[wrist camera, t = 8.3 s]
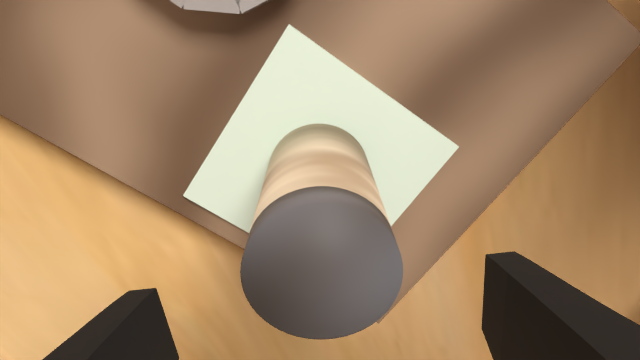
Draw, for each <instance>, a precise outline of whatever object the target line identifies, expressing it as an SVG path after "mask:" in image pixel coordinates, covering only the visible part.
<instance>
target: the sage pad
mask: <svg viewBox="0 0 640 360" xmlns="http://www.w3.org/2000/svg"><path fill="white" fill-rule="evenodd" d="M308 124H329V125H333V126H336V127H339V128H341V129H343V130H345V131H347V132H348V133H350V134H351V135H352V136H353V137H354V138H355V139H356V140H357V141H358V142H359V143H360V145H361V146H362V148H363V150H364V152H365V154H366V157H367V160H368V163H369V166H370V168H371V171H372V174H373V177H374V180H375V183H376V185H377V188H378V191H379V194H380V197H381V200H382V202H383V205H384V208H385V211H386V214H387V217H388V219H389V222H390V225H391V226H392V225H393V224H394V222H395V221H396V220H397V219H398V218H399V217H400V215H401V214H402V213H403V212H404V211H405V210H406V208H407V207H408V206H409V205H410V204H411V203H412V201H413V200H414V199H415V198H416V197H417V196H418V194H419V193H420V192H421V191H422V190H423V189H424V187H425V186H426V185H427V184H428V183H429V182H430V180H431V179H432V178H433V177H434V176H435V174H436V173H437V172H438V171H439V170H440V169H441V167H442V166H443V165H444V164H445V163H446V162H447V160H448V159H449V158H450V157H451V156H452V155H453V153H454V152H455V151H456V150H457V149H458V148H459V146H458V145H456V144H455V143H454V142H452V141H451V140H450V139H448V138H447V137H445V136H444V135H443V134H441V133H440V132H438V131H437V130H436V129H434V128H433V127H431V126H430V125H429V124H427V123H426V122H425V121H423V120H422V119H420V118H419V117H418V116H416V115H415V114H413V113H412V112H411V111H409V110H408V109H406V108H405V107H404V106H402V105H401V104H400V103H398V102H397V101H395V100H394V99H393V98H391V97H390V96H388V95H387V94H386V93H384V92H383V91H381V90H380V89H379V88H377V87H376V86H375V85H373V84H372V83H370V82H369V81H368V80H366V79H365V78H363V77H362V76H361V75H359V74H358V73H356V72H355V71H354V70H352V69H351V68H350V67H348V66H347V65H345V64H344V63H343V62H341V61H340V60H338V59H337V58H336V57H334V56H333V55H331V54H330V53H329V52H327V51H326V50H325V49H323V48H322V47H320V46H319V45H318V44H316V43H315V42H313V41H312V40H311V39H309V38H308V37H306V36H305V35H304V34H302V33H301V32H300V31H298V30H297V29H295V28H294V27H293V26H291V25H290V24H289V25H288V26H287V28H286V30H285V31H284V33H283V34H282V36H281V38H280V39H279V41H278V43H277V44H276V46H275V47H274V49H273V51H272V52H271V54H270V55H269V57H268V59H267V60H266V62H265V64H264V65H263V67H262V68H261V70H260V72H259V73H258V75H257V77H256V78H255V80H254V81H253V83H252V85H251V86H250V88H249V89H248V91H247V93H246V94H245V96H244V98H243V99H242V101H241V102H240V104H239V106H238V107H237V109H236V110H235V112H234V114H233V115H232V117H231V119H230V120H229V122H228V123H227V125H226V127H225V128H224V130H223V132H222V133H221V135H220V136H219V138H218V140H217V141H216V143H215V144H214V146H213V148H212V149H211V151H210V153H209V154H208V156H207V157H206V159H205V161H204V162H203V164H202V166H201V167H200V169H199V170H198V172H197V174H196V175H195V177H194V178H193V180H192V182H191V183H190V185H189V187H188V188H187V190H186V191H185V193H184V195H183V196H184V197H186V198H188V199H189V200H191V201H193V202H195V203H196V204H198V205H200V206H202V207H203V208H205V209H207V210H209V211H211V212H212V213H214V214H216V215H218V216H219V217H221V218H223V219H225V220H227V221H228V222H230V223H232V224H234V225H235V226H237V227H239V228H241V229H242V230H244V231H246V232H248V233H250V229H251V225H252V222H253V218H254V215H255V211H256V208H257V204H258V201H259V197H260V194H261V190H262V187H263V183H264V180H265V176H266V172H267V169H268V165H269V162H270V158H271V155H272V153H273V151H274V149H275V147H276V145H277V144H278V143H279V141H280V140H281V139H282V138H283V137H284V136H285V135H287V134H288V133H289V132H291V131H293V130H294V129H296V128H299V127H301V126H305V125H308Z"/></svg>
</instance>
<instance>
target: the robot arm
mask: <svg viewBox="0 0 640 360" xmlns="http://www.w3.org/2000/svg"><path fill="white" fill-rule="evenodd" d="M482 331H483V333H484V336H485V339H486V341H487V344H488V347H489V349H490V352H491V354H492V357H493V359H494V360H640V325H638V324H636V323H635V322H633V321H631V320H629V319H627V318H626V317H624V316H622V315H620V314H619V313H617V312H615V311H613V310H612V309H610V308H608V307H607V306H605V305H603V304H601V303H600V302H598V301H596V300H595V299H593V298H591V297H590V296H588V295H586V294H585V293H583V292H581V291H580V290H578V289H576V288H575V287H573V286H571V285H570V284H568V283H567V282H565V281H563V280H562V279H560V278H558V277H557V276H555V275H553V274H552V273H550V272H549V271H547V270H545V269H544V268H542V267H540V266H539V265H537V264H535V263H534V262H532V261H530V260H529V259H527V258H525V257H524V256H522V255H520V254H518V253H516V252H505V253H495V254H486V258H485V277H484V296H483V315H482ZM43 360H179V356H178V353H177V350H176V347H175V344H174V341H173V338H172V335H171V332H170V329H169V326H168V323H167V320H166V317H165V313H164V310H163V307H162V304H161V301H160V298H159V295H158V292H157V289H156V288H152V289H142V290H132V291H128V292H127V293H125V294H124V295H123V296H121V297H120V298H118V299H117V300H116V301H114V302H113V303H112V304H111V305H109V306H108V307H107V308H105V309H104V310H103V311H102V312H100V313H99V314H98V315H97V316H96V317H94V318H93V319H92V320H91V321H89V322H88V323H87V324H86V325H84V326H83V327H82V328H81V329H80V330H78V331H77V332H76V333H75V334H73V335H72V336H71V337H70V338H68V339H67V340H66V341H65V342H64V343H62V344H61V345H60V346H59V347H57V348H56V349H55V350H54V351H52V352H51V353H50V354H49V355H47V356H46V357H45V358H44V359H43Z"/></svg>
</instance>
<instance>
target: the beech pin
mask: <svg viewBox="0 0 640 360" xmlns="http://www.w3.org/2000/svg"><path fill="white" fill-rule="evenodd" d="M240 273H241V283H242V287H243V291H244V293H245V296H246V298H247V300H248V301H249V303H250V305H251V306H252V308H253V309H254V310H255V311H256V313H257V314H258V315H259V316H260V317H261V318H262V319H264V320H265V321H266V322H268V323H269V324H270V325H272V326H274V327H275V328H277V329H279V330H281V331H283V332H285V333H288V334H291V335H294V336H297V337H302V338H308V339H333V338H339V337H344V336H348V335H351V334H354V333H356V332H359V331H361V330H363V329H365V328H367V327H369V326H370V325H372V324H373V323H375V322H376V321H377V320H379V319H380V318H381V317H382V316H383V315H384V314H385V313H386V312H387V311H388V310H389V308H390V307H391V306H392V304H393V303H394V301H395V299H396V298H397V295H398V293H399V291H400V288H401V284H402V279H403V262H402V257H401V253H400V251H399V248H398V245H397V242H396V239H395V236H394V234H393V231H392V228H391V225H390V222H389V219H388V217H387V214H386V211H385V208H384V205H383V202H382V200H381V197H380V194H379V191H378V188H377V185H376V183H375V180H374V177H373V174H372V171H371V168H370V166H369V163H368V160H367V157H366V154H365V152H364V150H363V148H362V146H361V145H360V143H359V142H358V141H357V140H356V139H355V138H354V137H353V136H352V135H351V134H350V133H348V132H347V131H345V130H343V129H341V128H339V127H336V126H333V125H329V124H308V125H305V126H301V127H299V128H296V129H294V130H293V131H291V132H289V133H288V134H287V135H285V136H284V137H283V138H282V139H281V140H280V141H279V143H278V144H277V145H276V147H275V149H274V151H273V153H272V155H271V158H270V162H269V165H268V169H267V172H266V176H265V180H264V183H263V187H262V190H261V194H260V197H259V201H258V204H257V208H256V211H255V215H254V218H253V222H252V225H251V229H250V233H249V236H248V240H247V243H246V247H245V250H244V254H243V258H242V262H241V271H240Z"/></svg>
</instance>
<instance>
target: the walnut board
mask: <svg viewBox="0 0 640 360" xmlns="http://www.w3.org/2000/svg"><path fill="white" fill-rule="evenodd" d="M289 24H290V25H291V26H293V27H294V28H295V29H297V30H298V31H300V32H301V33H302V34H304V35H305V36H306V37H308V38H309V39H311V40H312V41H313V42H315V43H316V44H318V45H319V46H320V47H322V48H323V49H325V50H326V51H327V52H329V53H330V54H331V55H333V56H334V57H336V58H337V59H338V60H340V61H341V62H343V63H344V64H345V65H347V66H348V67H350V68H351V69H352V70H354V71H355V72H356V73H358V74H359V75H361V76H362V77H363V78H365V79H366V80H368V81H369V82H370V83H372V84H373V85H375V86H376V87H377V88H379V89H380V90H381V91H383V92H384V93H386V94H387V95H388V96H390V97H391V98H393V99H394V100H395V101H397V102H398V103H400V104H401V105H402V106H404V107H405V108H406V109H408V110H409V111H411V112H412V113H413V114H415V115H416V116H418V117H419V118H420V119H422V120H423V121H425V122H426V123H427V124H429V125H430V126H431V127H433V128H434V129H436V130H437V131H438V132H440V133H441V134H443V135H444V136H445V137H447V138H448V139H450V140H451V141H452V142H454V143H455V144H456V145H458V146H459V148H458V149H457V150H456V151H455V152H454V153H453V155H452V156H451V157H450V158H449V159H448V160H447V162H446V163H445V164H444V165H443V166H442V167H441V169H440V170H439V171H438V172H437V173H436V174H435V176H434V177H433V178H432V179H431V180H430V182H429V183H428V184H427V185H426V186H425V187H424V189H423V190H422V191H421V192H420V193H419V194H418V196H417V197H416V198H415V199H414V200H413V201H412V203H411V204H410V205H409V206H408V207H407V208H406V210H405V211H404V212H403V213H402V214H401V215H400V217H399V218H398V219H397V220H396V221H395V222H394V224H393V225H392V226H391V228H392V231H393V234H394V236H395V239H396V242H397V245H398V248H399V251H400V253H401V257H402V262H403V279H402V284H401V288H400V291H399V293H398V295H397V298H396V299H395V301H394V303H393V304H392V306H391V307H390V308H389V310H388V311H387V312H386V313H385V314H384V315H383V316H382V317H381V318H380V319H379V320H377V321H376V322H377V323H379V322H380V321H381V320H382V319H383V318H384V317H385V316H386V315H387V314H388V313H389V312H390V311H391V310H392V309H393V307H394V306H395V305H396V304H397V303H398V302H399V301H400V300H401V299H402V298H403V297H404V296H405V295H406V294H407V293H408V291H409V290H410V289H411V288H412V287H413V286H414V285H415V284H416V283H417V282H418V281H419V280H420V279H421V278H422V277H423V275H424V274H425V273H426V272H427V271H428V270H429V269H430V268H431V267H432V266H433V265H434V264H435V263H436V262H437V261H438V259H439V258H440V257H441V256H442V255H443V254H444V253H445V252H446V251H447V250H448V249H449V248H450V247H451V246H452V245H453V243H454V242H455V241H456V240H457V239H458V238H459V237H460V236H461V235H462V234H463V233H464V232H465V231H466V230H467V229H468V227H469V226H470V225H471V224H472V223H473V222H474V221H475V220H476V219H477V218H478V217H479V216H480V215H481V214H482V213H483V211H484V210H485V209H486V208H487V207H488V206H489V205H490V204H491V203H492V202H493V201H494V200H495V199H496V198H497V197H498V195H499V194H500V193H501V192H502V191H503V190H504V189H505V188H506V187H507V186H508V185H509V184H510V183H511V182H512V181H513V179H514V178H515V177H516V176H517V175H518V174H519V173H520V172H521V171H522V170H523V169H524V168H525V167H526V166H527V165H528V163H529V162H530V161H531V160H532V159H533V158H534V157H535V156H536V155H537V154H538V153H539V152H540V151H541V150H542V149H543V147H544V146H545V145H546V144H547V143H548V142H549V141H550V140H551V139H552V138H553V137H554V136H555V135H556V134H557V133H558V131H559V130H560V129H561V128H562V127H563V126H564V125H565V124H566V123H567V122H568V121H569V120H570V119H571V118H572V117H573V115H574V114H575V113H576V112H577V111H578V110H579V109H580V108H581V107H582V106H583V105H584V104H585V103H586V102H587V101H588V99H589V98H590V97H591V96H592V95H593V94H594V93H595V92H596V91H597V90H598V89H599V88H600V87H601V86H602V85H603V83H604V82H605V81H606V80H607V79H608V78H609V77H610V76H611V75H612V74H613V73H614V72H615V71H616V70H617V69H618V67H619V66H620V65H621V64H622V63H623V62H624V61H625V60H626V59H627V58H628V57H629V56H630V55H631V54H632V53H633V51H634V50H635V49H636V48H637V47H638V46H639V45H640V31H639V30H638V29H637V28H635V27H634V26H633V25H632V24H631V23H630V22H629V21H628V20H627V19H626V18H625V17H624V16H623V15H622V14H620V13H619V12H618V11H617V10H616V9H615V8H614V7H613V6H612V5H611V4H610V3H609V2H608V1H607V0H270V1H269V2H267V3H265V4H263V5H261V6H259V7H257V8H255V9H253V10H252V11H250V12H248V13H243V14H234V13H222V12H211V11H199V10H187V9H184V8H180V7H179V6H177V5H176V4H174V3H173V2H171V1H170V0H0V115H2V116H4V117H6V118H7V119H9V120H11V121H13V122H15V123H16V124H18V125H20V126H22V127H24V128H25V129H27V130H29V131H31V132H33V133H35V134H36V135H38V136H40V137H42V138H44V139H45V140H47V141H49V142H51V143H53V144H54V145H56V146H58V147H60V148H62V149H64V150H65V151H67V152H69V153H71V154H73V155H74V156H76V157H78V158H80V159H82V160H83V161H85V162H87V163H89V164H91V165H92V166H94V167H96V168H98V169H100V170H102V171H103V172H105V173H107V174H109V175H111V176H112V177H114V178H116V179H118V180H120V181H121V182H123V183H125V184H127V185H129V186H131V187H132V188H134V189H136V190H138V191H140V192H141V193H143V194H145V195H147V196H149V197H150V198H152V199H154V200H156V201H158V202H160V203H161V204H163V205H165V206H167V207H169V208H170V209H172V210H174V211H176V212H178V213H179V214H181V215H183V216H185V217H187V218H189V219H190V220H192V221H194V222H196V223H198V224H199V225H201V226H203V227H205V228H207V229H208V230H210V231H212V232H214V233H216V234H218V235H219V236H221V237H223V238H225V239H227V240H228V241H230V242H232V243H234V244H236V245H237V246H239V247H241V248H243V249H245V247H246V243H247V240H248V236H249V233H248V232H246V231H244V230H242V229H241V228H239V227H237V226H235V225H234V224H232V223H230V222H228V221H227V220H225V219H223V218H221V217H219V216H218V215H216V214H214V213H212V212H211V211H209V210H207V209H205V208H203V207H202V206H200V205H198V204H196V203H195V202H193V201H191V200H189V199H188V198H186V197H184V196H183V195H184V193H185V191H186V190H187V188H188V187H189V185H190V183H191V182H192V180H193V178H194V177H195V175H196V174H197V172H198V170H199V169H200V167H201V166H202V164H203V162H204V161H205V159H206V157H207V156H208V154H209V153H210V151H211V149H212V148H213V146H214V144H215V143H216V141H217V140H218V138H219V136H220V135H221V133H222V132H223V130H224V128H225V127H226V125H227V123H228V122H229V120H230V119H231V117H232V115H233V114H234V112H235V110H236V109H237V107H238V106H239V104H240V102H241V101H242V99H243V98H244V96H245V94H246V93H247V91H248V89H249V88H250V86H251V85H252V83H253V81H254V80H255V78H256V77H257V75H258V73H259V72H260V70H261V68H262V67H263V65H264V64H265V62H266V60H267V59H268V57H269V55H270V54H271V52H272V51H273V49H274V47H275V46H276V44H277V43H278V41H279V39H280V38H281V36H282V34H283V33H284V31H285V30H286V28H287V26H288V25H289Z"/></svg>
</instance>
